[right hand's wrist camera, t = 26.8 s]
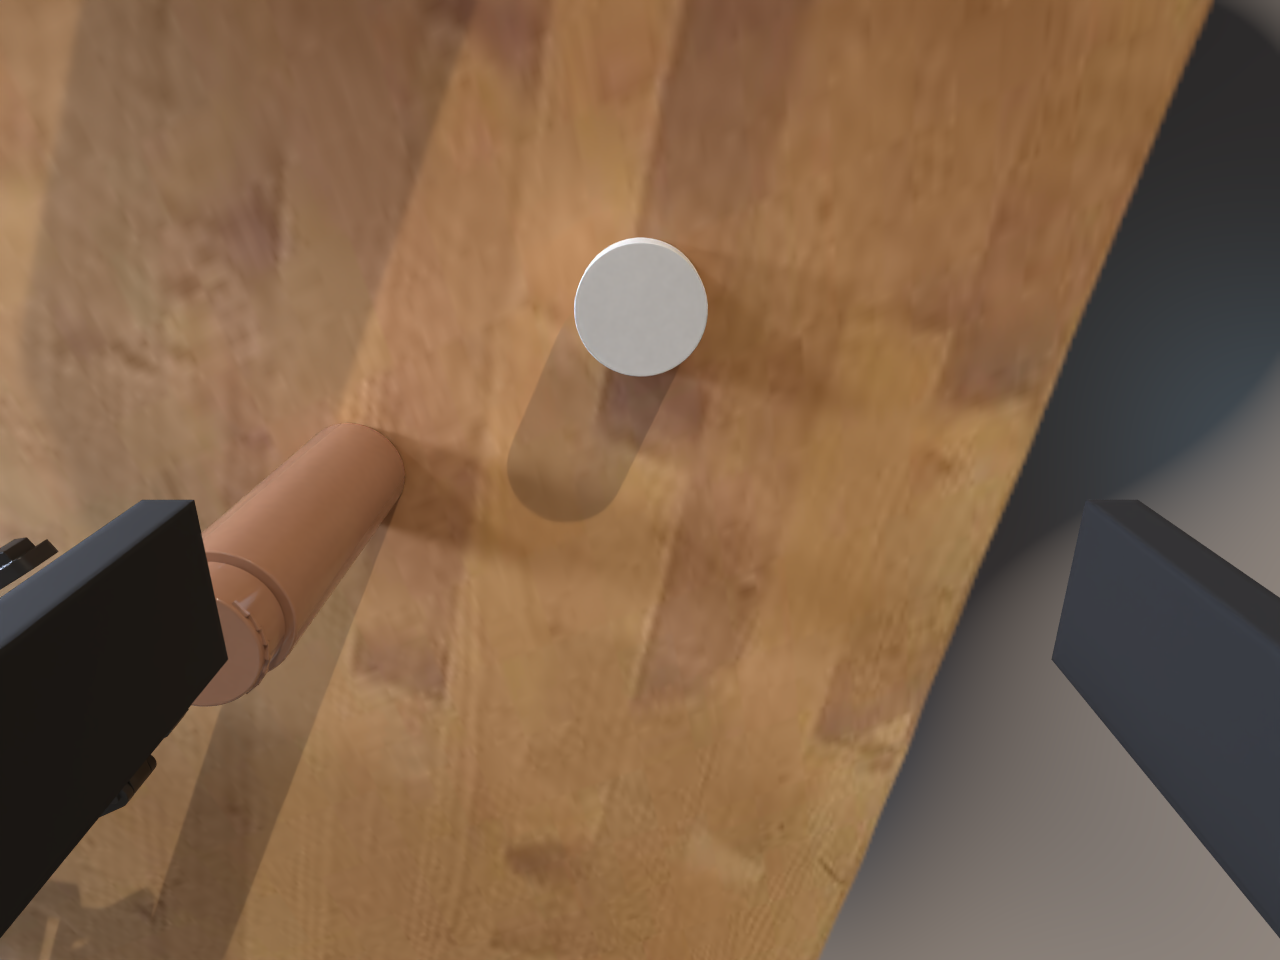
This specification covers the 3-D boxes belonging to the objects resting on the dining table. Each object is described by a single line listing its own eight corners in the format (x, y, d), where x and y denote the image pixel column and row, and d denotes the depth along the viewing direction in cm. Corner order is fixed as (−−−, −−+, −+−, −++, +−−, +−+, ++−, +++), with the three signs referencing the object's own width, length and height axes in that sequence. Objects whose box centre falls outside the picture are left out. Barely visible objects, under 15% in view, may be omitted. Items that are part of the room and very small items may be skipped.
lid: (708, 239, 36) (712, 244, 34) (699, 367, 38) (703, 379, 36) (578, 234, 36) (574, 239, 34) (577, 362, 38) (573, 374, 36)
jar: (356, 535, 41) (201, 741, 27) (281, 464, 40) (76, 641, 25) (426, 477, 40) (305, 659, 25) (352, 402, 39) (179, 549, 24)
